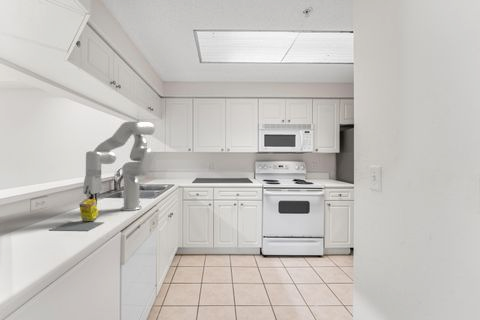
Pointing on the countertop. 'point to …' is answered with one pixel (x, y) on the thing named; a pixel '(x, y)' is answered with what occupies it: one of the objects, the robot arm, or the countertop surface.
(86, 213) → the supplement box
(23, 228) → the countertop surface
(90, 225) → the topple mat
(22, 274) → the countertop surface
